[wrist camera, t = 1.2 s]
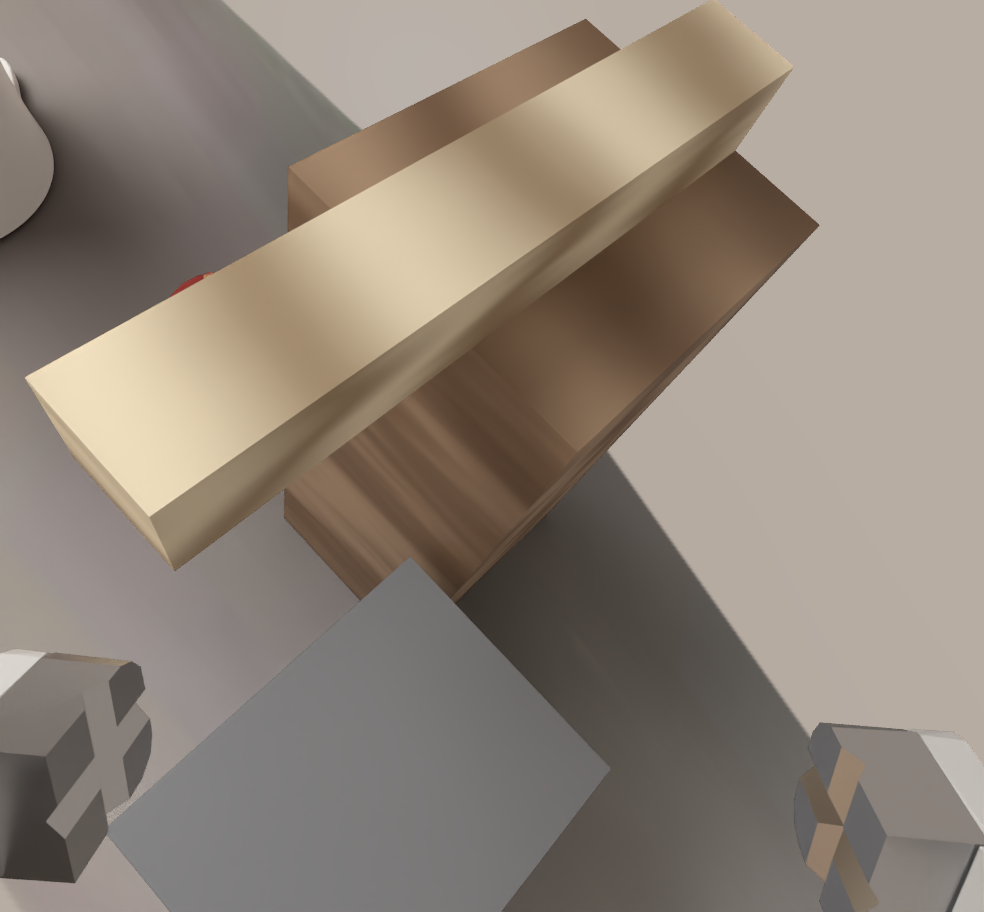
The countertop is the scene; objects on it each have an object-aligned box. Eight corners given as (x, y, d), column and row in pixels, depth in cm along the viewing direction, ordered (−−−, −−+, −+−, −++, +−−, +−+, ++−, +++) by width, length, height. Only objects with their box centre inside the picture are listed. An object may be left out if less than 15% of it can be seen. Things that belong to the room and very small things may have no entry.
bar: (174, 571, 14) (148, 517, 11) (72, 456, 14) (25, 377, 11) (734, 151, 23) (794, 67, 20) (664, 88, 23) (713, -2, 21)
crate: (316, 989, 33) (341, 1120, 19) (172, 816, 34) (103, 830, 21) (496, 777, 38) (610, 768, 25) (367, 636, 39) (410, 556, 26)
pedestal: (406, 650, 40) (576, 452, 17) (284, 517, 41) (288, 166, 18) (547, 513, 45) (819, 225, 22) (435, 400, 46) (585, 19, 24)
